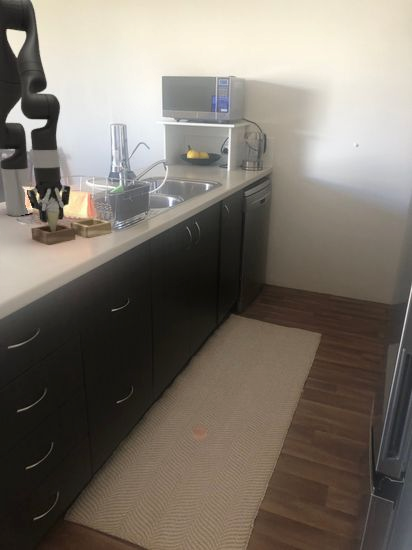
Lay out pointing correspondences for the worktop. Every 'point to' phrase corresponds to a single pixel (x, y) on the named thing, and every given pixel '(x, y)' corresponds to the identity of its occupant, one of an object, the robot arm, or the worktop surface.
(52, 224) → the ice cream cone
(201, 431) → the pale pink round disc
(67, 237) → the walnut holder
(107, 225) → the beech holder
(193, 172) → the worktop surface
